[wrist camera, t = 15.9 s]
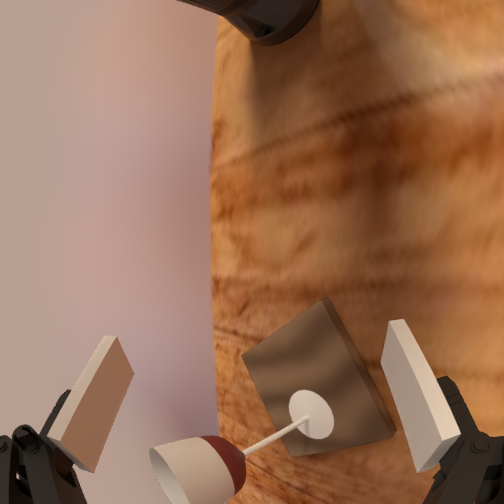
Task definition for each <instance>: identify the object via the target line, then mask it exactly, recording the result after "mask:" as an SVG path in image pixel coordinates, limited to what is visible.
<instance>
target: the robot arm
mask: <svg viewBox="0 0 504 504" xmlns="http://www.w3.org/2000/svg"><path fill="white" fill-rule="evenodd" d="M177 1H180V2H184V3H187V4H190V5H193V6H196V7H199V8H202V9H205V10H207V11H210V12H213V13H216V14H218V15H220V16H223V17H224V18H225V19H226V20H228V21H229V22H230V23H231V24H232V25H233V26H234V27H235V28H237V29H238V30H239V31H240V32H241V33H242V34H243V35H244V36H245V37H247V38H248V39H250V40H252V41H254V42H257V43H259V44H261V45H273V44H277V43H280V42H282V41H284V40H286V39H288V38H289V37H291V36H292V35H294V34H295V33H296V32H297V31H298V30H300V29H301V28H302V27H303V26H304V24H305V23H306V22H307V21H308V20H309V18H310V17H311V15H312V14H313V12H314V10H315V8H316V6H317V3H318V0H177ZM380 363H381V366H382V368H383V371H384V374H385V376H386V379H387V382H388V384H389V387H390V390H391V393H392V396H393V399H394V401H395V404H396V407H397V410H398V413H399V416H400V419H401V422H402V425H403V428H404V432H405V435H406V438H407V441H408V444H409V448H410V451H411V454H412V458H413V461H414V465H415V468H416V472H417V473H420V472H423V471H426V470H429V469H432V468H434V467H435V466H436V465H437V464H438V462H439V463H440V466H441V469H440V470H439V471H438V472H437V473H436V474H435V475H434V477H433V479H435V478H436V479H435V481H434V483H433V485H432V487H431V489H430V491H429V493H428V495H427V496H426V498H425V500H424V502H423V504H504V436H499V437H489V435H488V434H486V433H484V432H480V431H479V430H478V428H477V426H476V424H475V422H474V420H473V418H472V416H471V414H470V412H469V409H468V407H467V405H466V403H465V402H464V399H463V397H462V395H461V394H460V392H459V390H458V388H457V386H456V384H455V383H454V382H453V381H452V380H451V379H450V378H449V377H448V376H444V377H440V378H437V379H436V378H435V376H434V374H433V372H432V370H431V368H430V366H429V364H428V362H427V361H426V359H425V357H424V355H423V353H422V351H421V349H420V347H419V345H418V344H417V342H416V340H415V338H414V336H413V335H412V333H411V331H410V329H409V327H408V326H407V324H406V322H405V320H404V319H399V320H392V321H389V324H388V329H387V334H386V339H385V344H384V349H383V353H382V358H381V362H380ZM133 376H134V372H133V370H132V368H131V366H130V364H129V362H128V360H127V358H126V355H125V353H124V351H123V349H122V347H121V345H120V342H119V340H118V338H117V336H104V337H103V339H102V340H101V342H100V344H99V345H98V347H97V348H96V350H95V352H94V353H93V355H92V357H91V358H90V360H89V362H88V363H87V365H86V367H85V368H84V370H83V372H82V373H81V375H80V377H79V378H78V380H77V382H76V384H75V386H74V387H73V389H72V390H67V391H66V392H64V393H63V394H62V395H61V396H60V398H59V399H58V401H57V403H56V406H54V408H53V410H52V413H51V414H50V415H49V417H48V419H47V421H46V423H45V425H44V426H43V428H42V430H41V432H40V434H39V435H38V434H37V433H36V432H35V431H34V429H33V428H32V427H30V426H29V425H26V424H25V425H21V426H19V427H17V428H16V429H15V430H14V432H13V435H12V440H11V439H10V438H9V437H8V436H6V435H3V436H0V504H87V502H86V499H85V497H84V494H83V492H82V489H81V487H80V484H79V481H78V479H77V476H76V473H75V471H74V469H73V468H72V466H73V464H76V465H77V466H78V467H79V468H80V469H82V470H85V471H88V472H91V473H94V471H95V468H96V466H97V463H98V461H99V458H100V455H101V453H102V450H103V447H104V445H105V442H106V440H107V437H108V435H109V432H110V430H111V427H112V425H113V423H114V420H115V418H116V415H117V413H118V411H119V408H120V406H121V403H122V401H123V399H124V396H125V394H126V392H127V389H128V387H129V385H130V383H131V380H132V378H133ZM16 473H17V474H18V475H19V479H17V478H16ZM474 501H475V503H474Z"/></svg>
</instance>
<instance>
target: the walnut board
mask: <svg viewBox="0 0 504 504" xmlns="http://www.w3.org/2000/svg"><path fill="white" fill-rule="evenodd" d="M241 356H242V358H243V360H244V363H245V365H246V367H247V369H248V371H249V373H250V376H251V378H252V380H253V382H254V384H255V386H256V388H257V390H258V392H259V394H260V396H261V399H262V401H263V403H264V405H265V407H266V409H267V411H268V413H269V415H270V417H271V419H272V421H273V423H274V425H275V427H276V429H277V431H280V430H282V429H284V428H285V427H287V426H289V425H290V424H292V423H294V422H293V421H292V418H291V416H290V413H289V402H290V399H291V397H292V395H293V394H294V393H296V392H297V391H300V390H308V391H312V392H314V393H316V394H318V395H319V396H321V397H322V398H323V399H324V400H325V401H326V402H327V404H328V406H329V407H330V409H331V411H332V414H333V417H334V427H333V430H332V432H331V433H330V435H329V436H328V437H325V438H323V439H314V438H310V437H308V436H306V435H305V434H303V433H302V432H301V431H300V430H299V429H298V428H295V429H293V430H292V431H290V432H288V433H287V434H285V435H283V436H282V437H281V439H282V441H283V443H284V444H285V446H286V448H287V450H288V452H289V454H290V456H291V457H295V456H302V455H310V454H316V453H322V452H328V451H334V450H339V449H344V448H349V447H354V446H358V445H363V444H367V443H371V442H375V441H379V440H382V439H386V438H390V437H392V435H393V434H394V433H395V432H396V431H397V430H396V428H395V426H394V424H393V422H392V419H391V417H390V415H389V413H388V411H387V409H386V407H385V405H384V403H383V401H382V399H381V397H380V395H379V393H378V391H377V389H376V387H375V385H374V383H373V381H372V379H371V377H370V375H369V373H368V371H367V369H366V367H365V365H364V363H363V361H362V359H361V357H360V355H359V354H358V352H357V350H356V348H355V346H354V344H353V342H352V340H351V338H350V336H349V335H348V333H347V331H346V329H345V327H344V325H343V323H342V321H341V320H340V318H339V316H338V314H337V312H336V310H335V309H334V307H333V305H332V303H331V301H330V299H329V298H328V297H327V298H324V299H321V300H319V301H318V302H317V303H315V304H314V305H313V306H311V307H310V308H308V309H307V310H306V311H304V312H303V313H302V314H300V315H299V316H297V317H296V318H295V319H293V320H292V321H290V322H289V323H288V324H286V325H285V326H283V327H282V328H281V329H279V330H278V331H276V332H275V333H273V334H272V335H271V336H269V337H268V338H266V339H265V340H263V341H262V342H260V343H259V344H257V345H256V346H254V347H253V348H251V349H250V350H248V351H247V352H245V353H244V354H242V355H241Z"/></svg>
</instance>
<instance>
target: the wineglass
mask: <svg viewBox="0 0 504 504" xmlns="http://www.w3.org/2000/svg"><path fill="white" fill-rule="evenodd" d="M289 413H290V416H291V418H292V421H293V422H294V423H292V424H290V425H289V426H287V427H285V428H284V429H282V430H280V431H278V432H277V433H275V434H273V435H271V436H269V437H268V438H266V439H264V440H262V441H260V442H258V443H257V444H255V445H253V446H251V447H249V448H247V449H245V450H243V451H240V450H238V449H237V448H236V447H235V446H234V445H233V444H232V443H230V442H229V441H227V440H226V439H223V438H221V437H218V436H201V437H196V438H190V439H185V440H180V441H176V442H172V443H167V444H164V445H160V446H157V447H153V448H151V449H150V452H149V453H150V459H151V463H152V466H153V469H154V471H155V474H156V476H157V478H158V480H159V483H160V484H161V486H162V488H163V490H164V491H165V493H166V495H167V496H168V498H169V499H170V501H171V502H172V504H224V503H225V502H226V501H228V500H229V499H230V498H232V497H233V496H234V495H235V494H236V493H237V492H238V491H239V490H240V489H241V488H242V487H243V485H244V483H245V479H246V465H245V459H244V458H245V456H247V455H249V454H251V453H253V452H255V451H257V450H259V449H261V448H262V447H264V446H266V445H268V444H270V443H271V442H273V441H275V440H277V439H278V438H280V437H282V436H283V435H285V434H287V433H288V432H290V431H292V430H293V429H295V428H298V429H299V430H300V431H301V432H302V433H303V434H305V435H306V436H308V437H310V438H314V439H323V438H325V437H328V436H329V435H330V433H331V432H332V430H333V427H334V417H333V414H332V411H331V409H330V407H329V406H328V404H327V402H326V401H325V400H324V399H323V398H322V397H321V396H319V395H318V394H316V393H314V392H312V391H308V390H300V391H297V392H296V393H294V394H293V395H292V397H291V399H290V402H289Z"/></svg>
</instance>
